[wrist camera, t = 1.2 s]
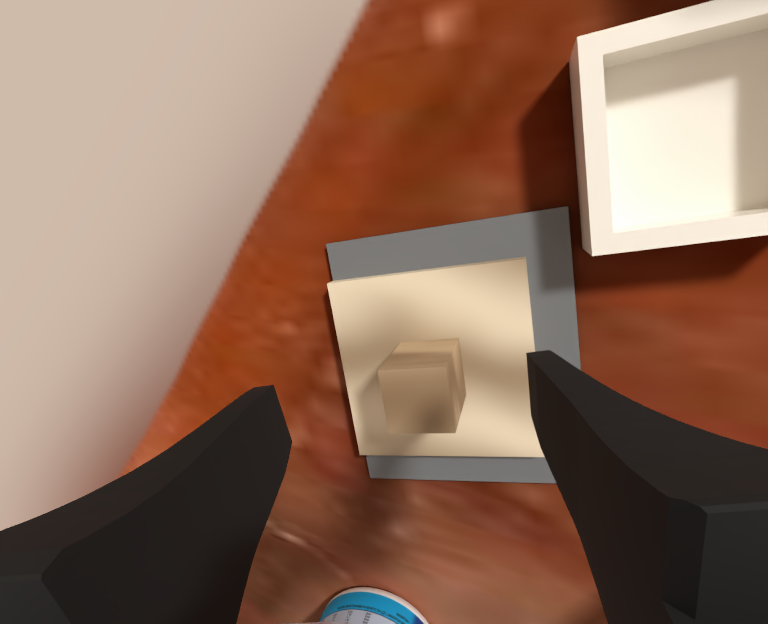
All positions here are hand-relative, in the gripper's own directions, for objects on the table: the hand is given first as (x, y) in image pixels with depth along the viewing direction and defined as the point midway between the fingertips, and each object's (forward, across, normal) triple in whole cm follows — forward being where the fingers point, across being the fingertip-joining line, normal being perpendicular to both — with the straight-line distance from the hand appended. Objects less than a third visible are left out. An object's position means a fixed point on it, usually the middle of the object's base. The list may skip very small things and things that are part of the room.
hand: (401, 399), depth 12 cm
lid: (+10, -1, +5) cm, 11 cm away
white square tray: (+10, -12, -4) cm, 16 cm away
